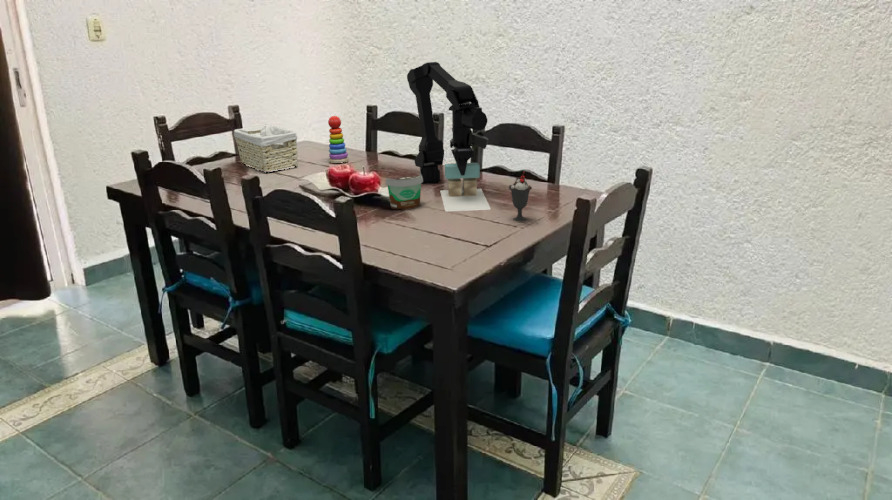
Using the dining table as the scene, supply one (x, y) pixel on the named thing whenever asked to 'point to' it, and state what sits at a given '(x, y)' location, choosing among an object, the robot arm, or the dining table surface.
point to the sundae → (520, 195)
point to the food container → (405, 192)
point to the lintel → (470, 171)
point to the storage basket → (267, 147)
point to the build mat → (464, 202)
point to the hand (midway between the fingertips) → (462, 173)
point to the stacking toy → (336, 142)
